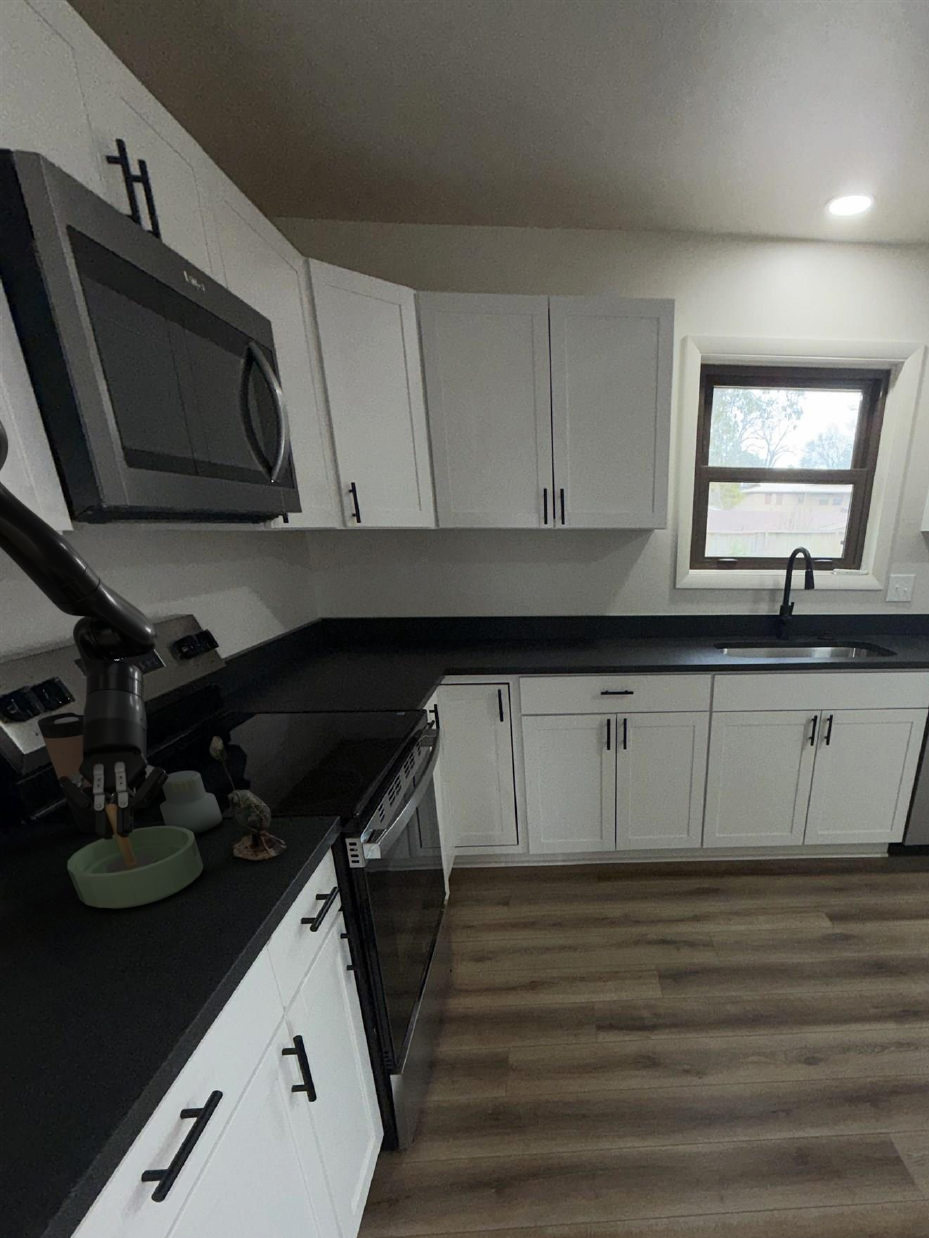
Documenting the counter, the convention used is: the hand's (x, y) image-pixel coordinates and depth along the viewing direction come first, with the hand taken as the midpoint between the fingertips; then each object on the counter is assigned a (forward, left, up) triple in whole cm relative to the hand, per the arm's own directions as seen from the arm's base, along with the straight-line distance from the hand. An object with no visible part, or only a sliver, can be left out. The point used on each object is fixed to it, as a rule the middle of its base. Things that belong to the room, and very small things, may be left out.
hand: (114, 836), depth 91 cm
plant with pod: (+15, +9, -10) cm, 20 cm away
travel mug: (-13, +30, -10) cm, 34 cm away
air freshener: (+3, +22, -10) cm, 25 cm away
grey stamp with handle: (0, +2, -8) cm, 8 cm away
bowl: (0, +4, -10) cm, 10 cm away
